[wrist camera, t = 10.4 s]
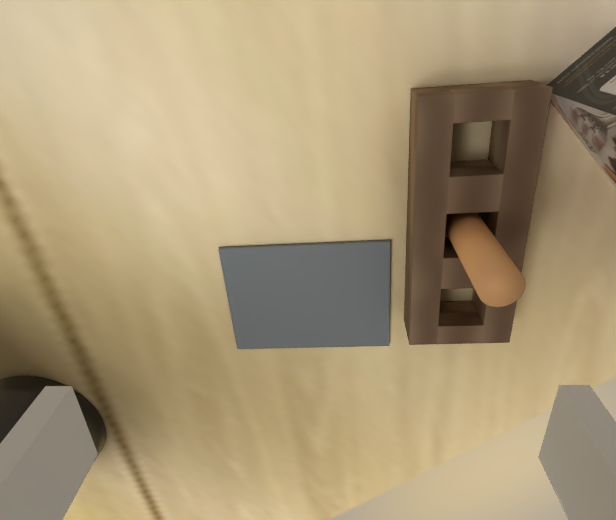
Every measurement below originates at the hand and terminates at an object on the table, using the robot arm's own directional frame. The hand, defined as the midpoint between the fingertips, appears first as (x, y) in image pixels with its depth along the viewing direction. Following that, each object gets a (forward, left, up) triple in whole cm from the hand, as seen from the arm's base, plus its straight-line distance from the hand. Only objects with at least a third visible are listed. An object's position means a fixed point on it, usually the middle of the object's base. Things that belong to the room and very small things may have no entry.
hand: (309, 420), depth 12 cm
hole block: (+11, -6, -29) cm, 31 cm away
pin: (+11, -6, -29) cm, 31 cm away
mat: (-3, -14, -29) cm, 32 cm away
